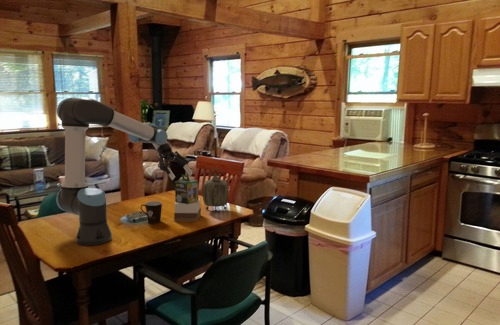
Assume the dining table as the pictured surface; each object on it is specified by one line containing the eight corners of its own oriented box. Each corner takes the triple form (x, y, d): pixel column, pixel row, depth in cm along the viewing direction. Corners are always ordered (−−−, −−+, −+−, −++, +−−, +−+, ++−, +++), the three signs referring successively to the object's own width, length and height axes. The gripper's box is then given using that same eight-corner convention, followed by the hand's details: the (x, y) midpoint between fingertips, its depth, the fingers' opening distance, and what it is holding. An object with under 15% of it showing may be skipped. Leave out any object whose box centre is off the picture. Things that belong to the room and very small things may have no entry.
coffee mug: (165, 221, 205) (165, 203, 204) (151, 225, 199) (151, 206, 198) (153, 216, 213) (152, 199, 212) (139, 220, 207) (138, 202, 205)
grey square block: (196, 222, 205) (196, 213, 204) (174, 222, 206) (174, 213, 205) (200, 216, 217) (200, 207, 216) (179, 215, 218) (179, 206, 217)
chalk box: (198, 200, 211) (198, 174, 209) (187, 204, 203) (187, 176, 201) (186, 198, 216) (185, 172, 213) (174, 201, 208) (174, 174, 206)
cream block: (197, 213, 205) (197, 204, 204) (174, 212, 205) (174, 203, 204) (200, 207, 217) (200, 198, 216) (179, 206, 217) (178, 198, 216)
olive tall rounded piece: (228, 208, 230) (228, 167, 226) (228, 213, 221) (227, 170, 217) (204, 208, 230) (203, 167, 226) (202, 213, 221) (202, 170, 217)
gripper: (175, 149, 228) (194, 177, 223) (142, 153, 208) (162, 184, 202) (181, 140, 225) (201, 169, 219) (148, 144, 204) (169, 175, 198)
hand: (182, 176), depth 211 cm, fingers open, 13 cm apart
